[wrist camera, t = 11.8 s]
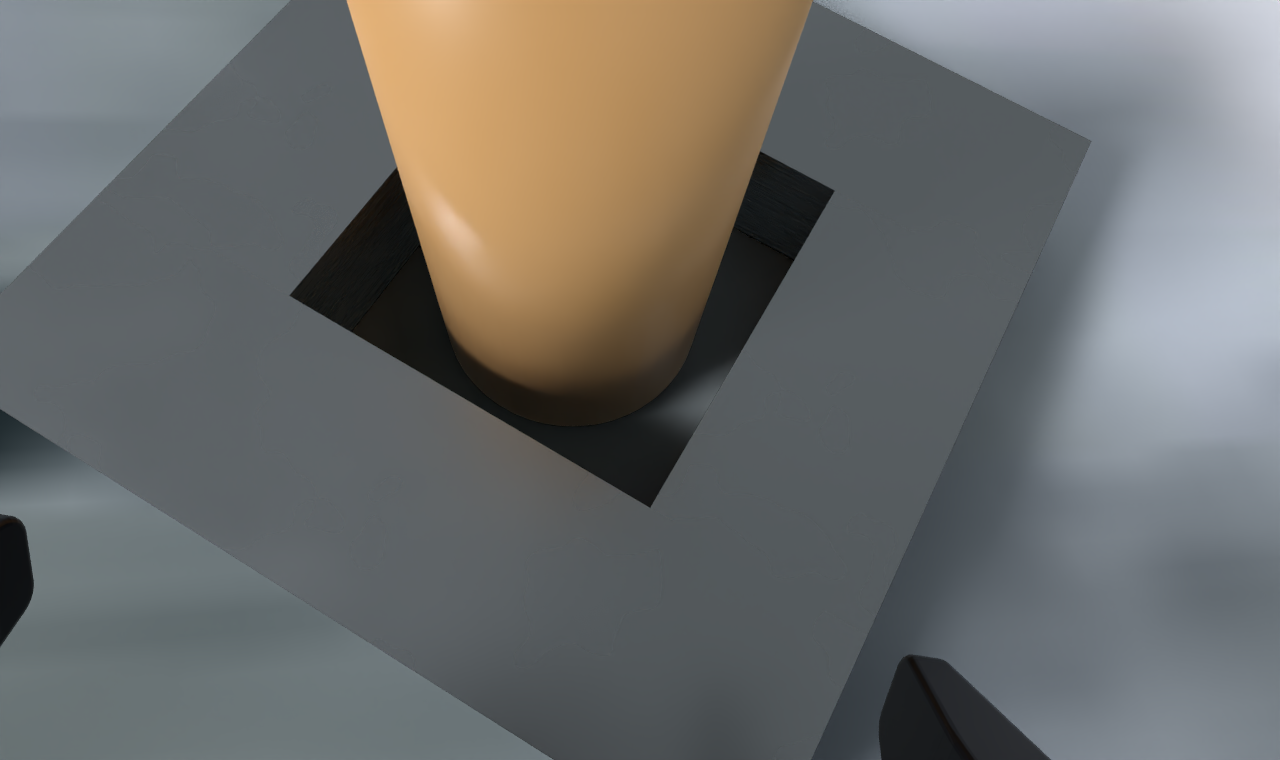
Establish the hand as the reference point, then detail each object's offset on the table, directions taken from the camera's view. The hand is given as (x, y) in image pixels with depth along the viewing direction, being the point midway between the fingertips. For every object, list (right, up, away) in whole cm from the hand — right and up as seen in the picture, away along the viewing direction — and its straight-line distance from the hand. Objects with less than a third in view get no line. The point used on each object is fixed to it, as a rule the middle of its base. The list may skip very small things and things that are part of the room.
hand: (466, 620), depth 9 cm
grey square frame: (0, +4, +11) cm, 11 cm away
